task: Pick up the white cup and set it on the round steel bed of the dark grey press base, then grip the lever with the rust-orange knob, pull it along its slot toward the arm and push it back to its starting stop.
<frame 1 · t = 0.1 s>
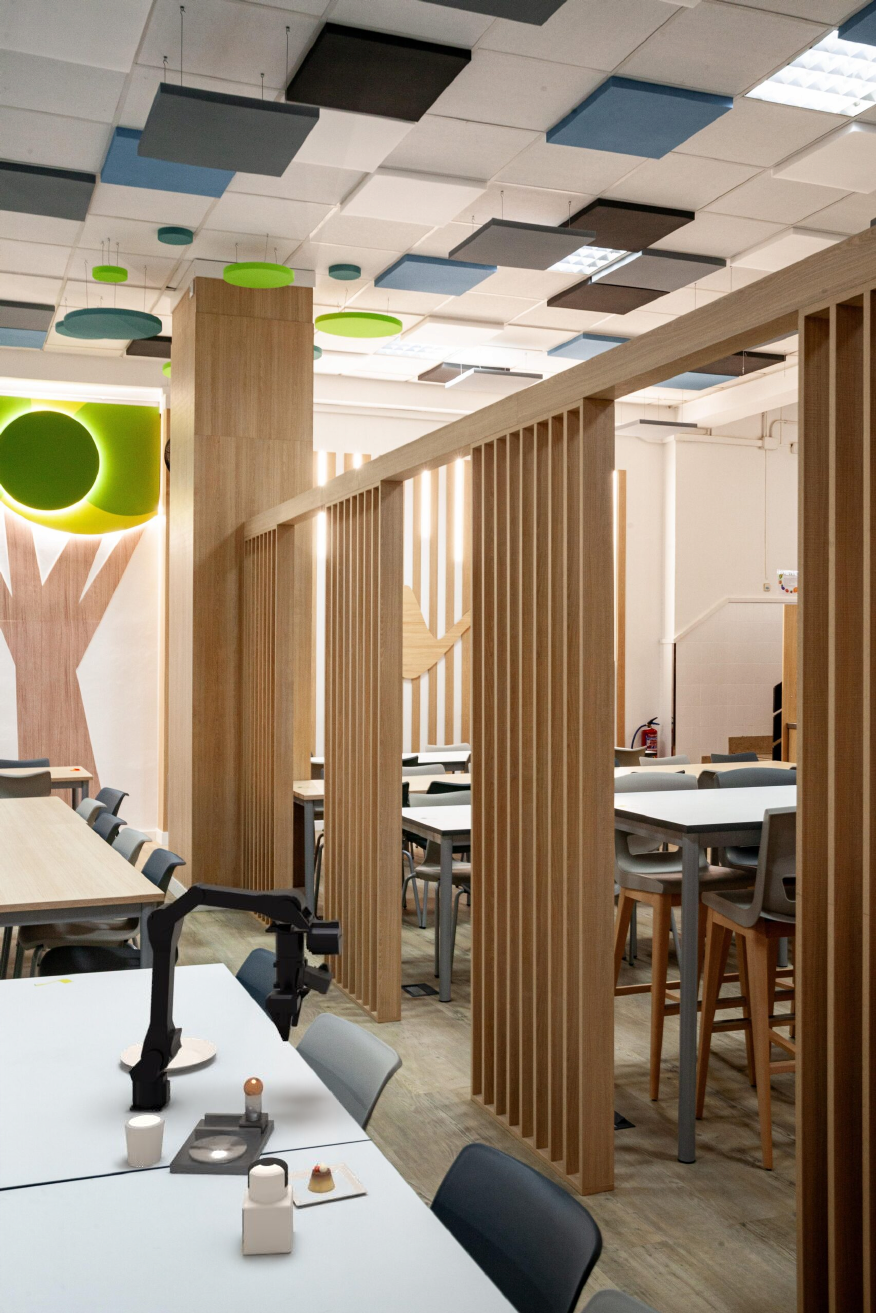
hand: (290, 1033, 224), 15 cm above the table, tool pointing down, fingers open, 9 cm apart
white cup: (144, 1161, 200), on the table
press lever: (253, 1102, 210), point 6 cm above the table, slide at 0.0 cm
medicine bottle: (268, 1243, 171), on the table
press base: (224, 1149, 205), on the table
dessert: (321, 1191, 189), on the table
plate: (169, 1063, 252), on the table
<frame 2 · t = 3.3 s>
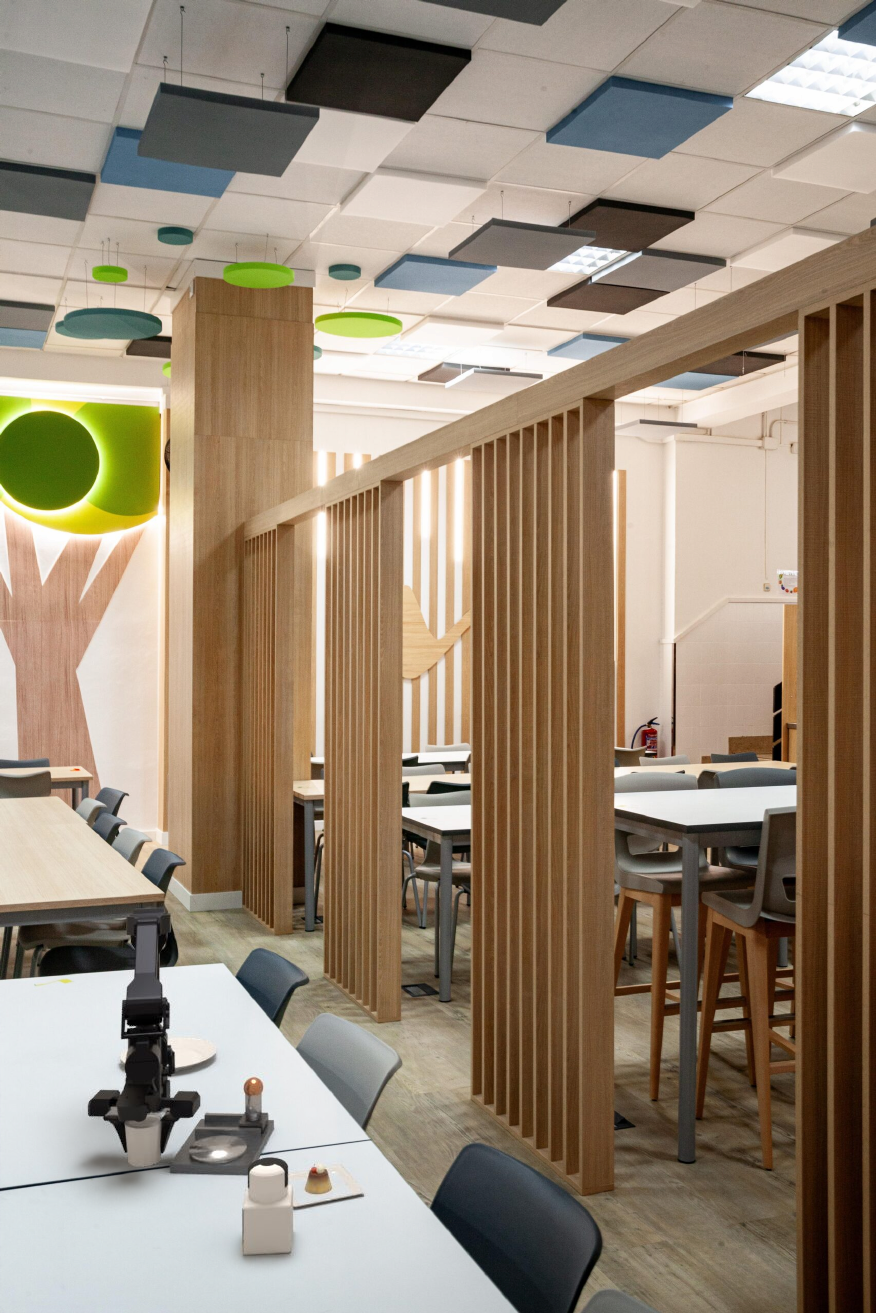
hand: (144, 1152, 200), 1 cm above the table, tool pointing down, fingers closed on white cup, 6 cm apart
white cup: (144, 1160, 200), on the table, touching gripper
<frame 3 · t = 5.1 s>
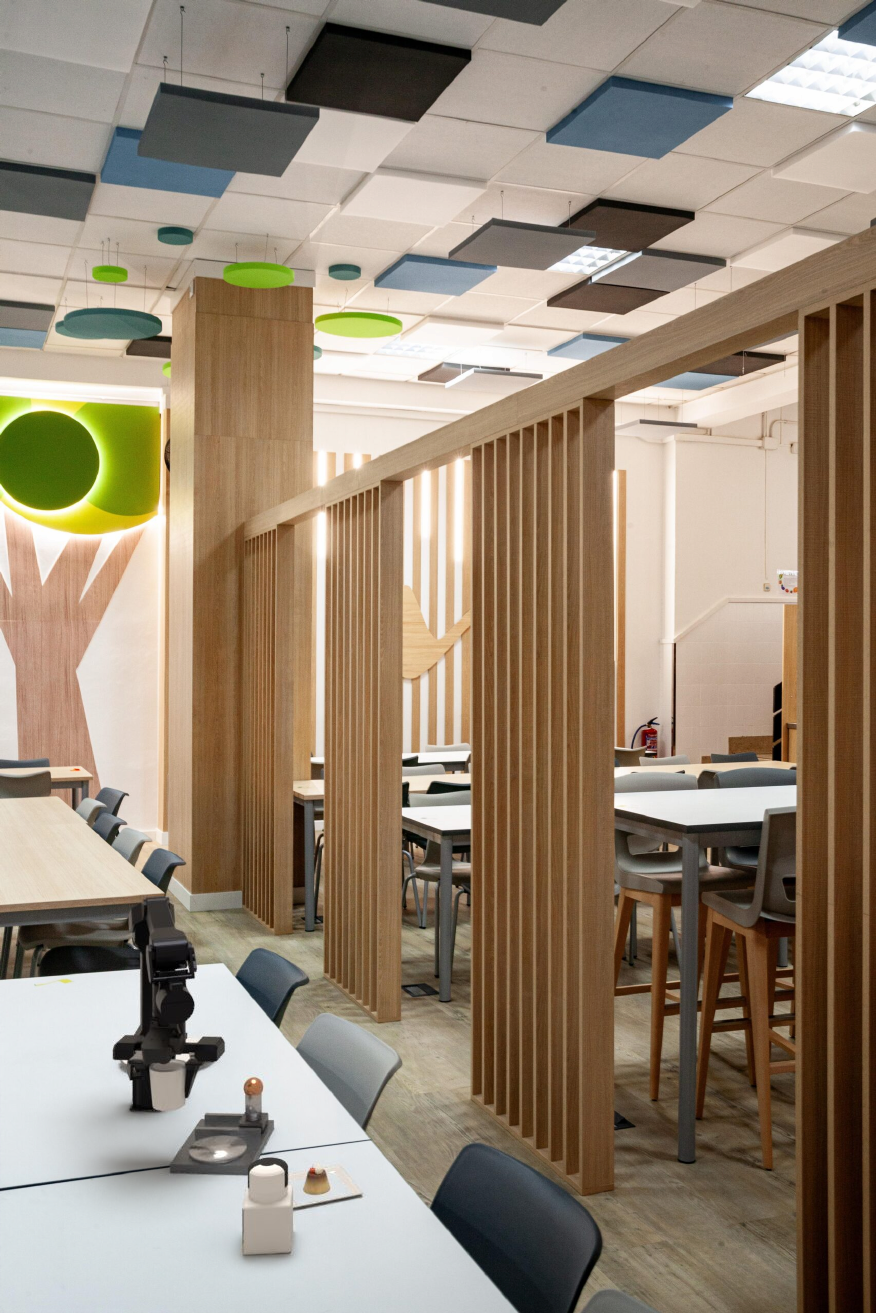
hand: (169, 1096, 200), 11 cm above the table, tool pointing down, fingers closed on white cup, 6 cm apart
white cup: (169, 1105, 200), point 10 cm above the table, touching gripper
when the fingers open (5 cm above the table, at t = 7.2 s): white cup drops 1 cm, resting on press base.
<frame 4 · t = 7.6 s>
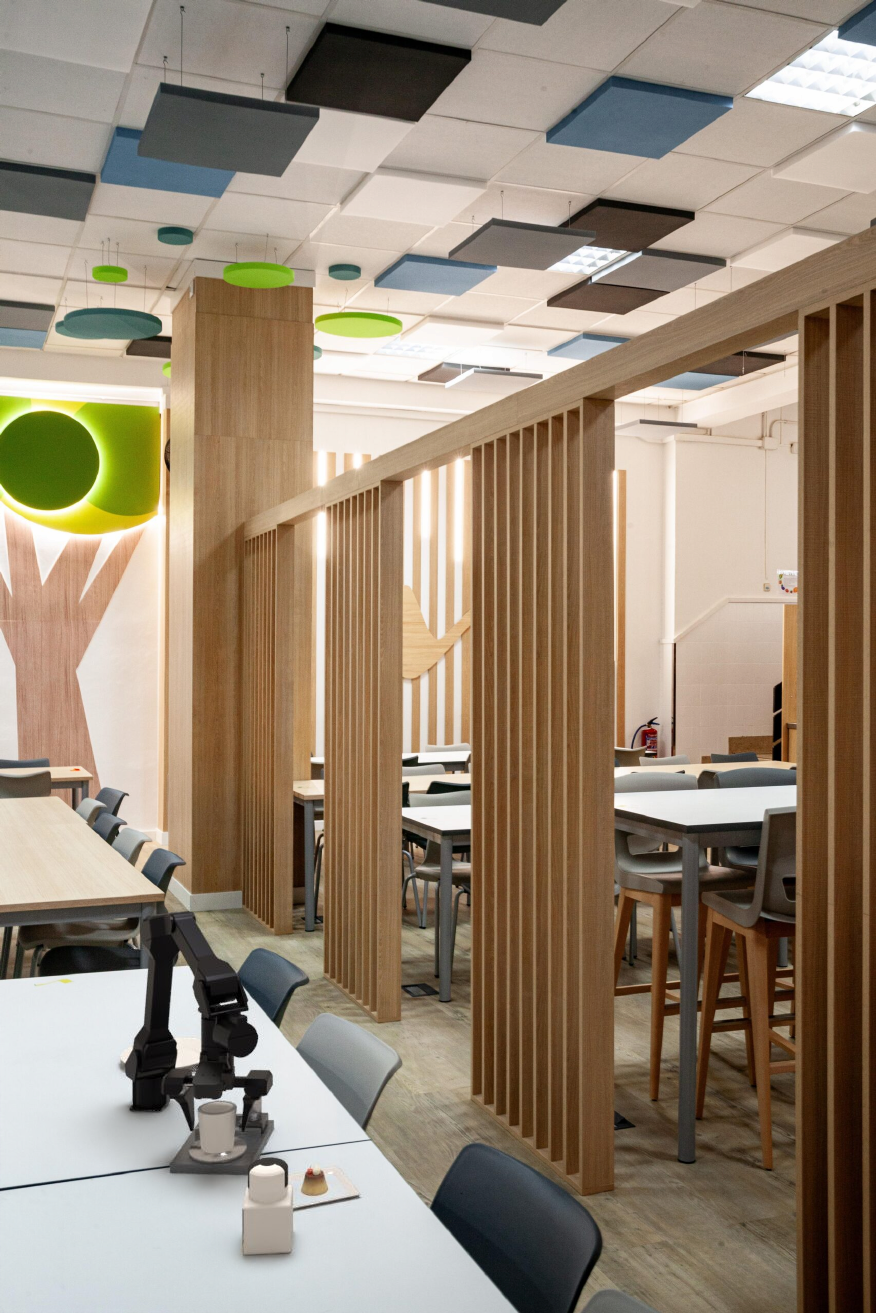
hand: (217, 1130, 200), 5 cm above the table, tool pointing down, fingers open, 9 cm apart
white cup: (217, 1147, 200), point 2 cm above the table, touching press base
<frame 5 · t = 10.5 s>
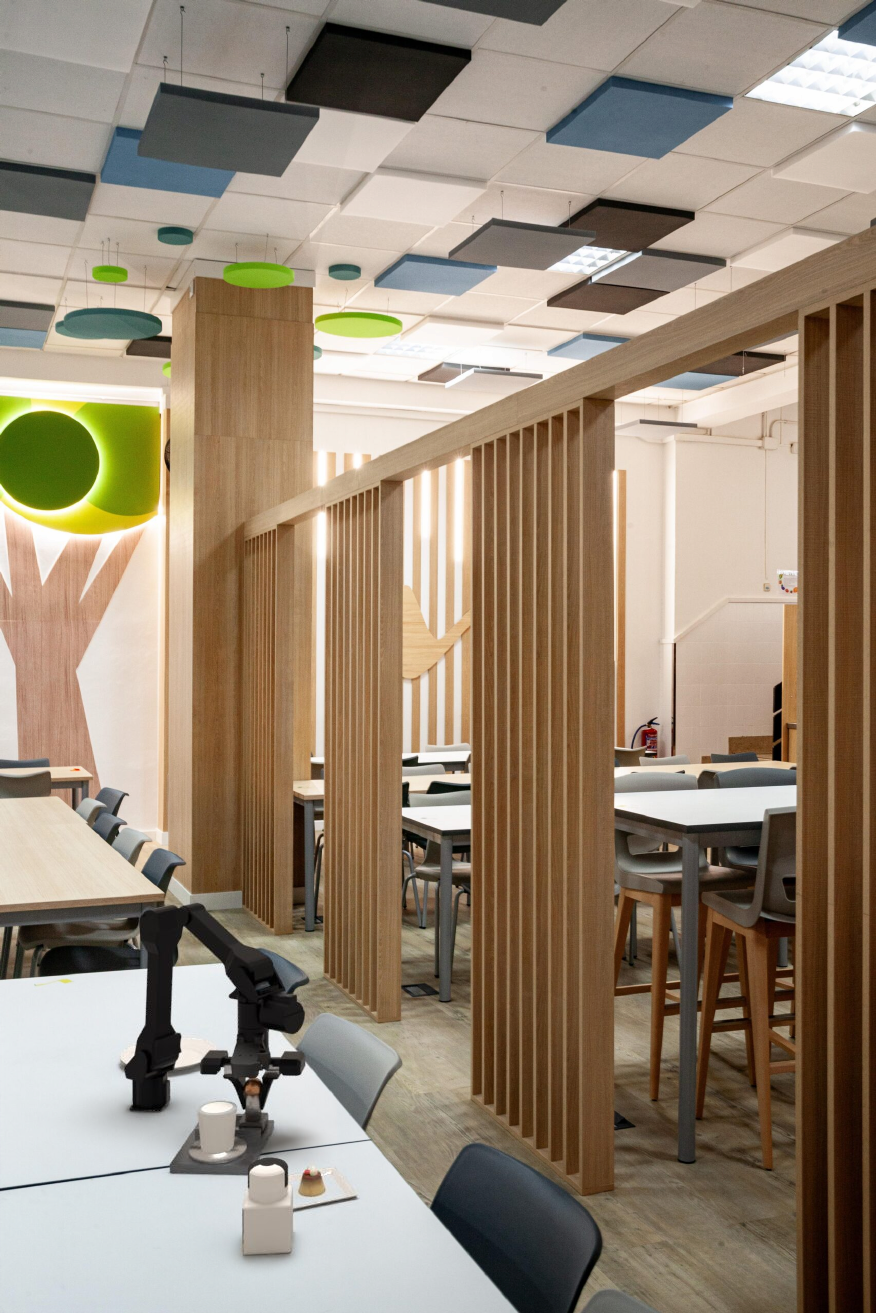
hand: (253, 1109, 210), 5 cm above the table, tool pointing down, fingers closed on press lever, 3 cm apart
press lever: (253, 1102, 210), point 6 cm above the table, slide at 0.0 cm, touching gripper
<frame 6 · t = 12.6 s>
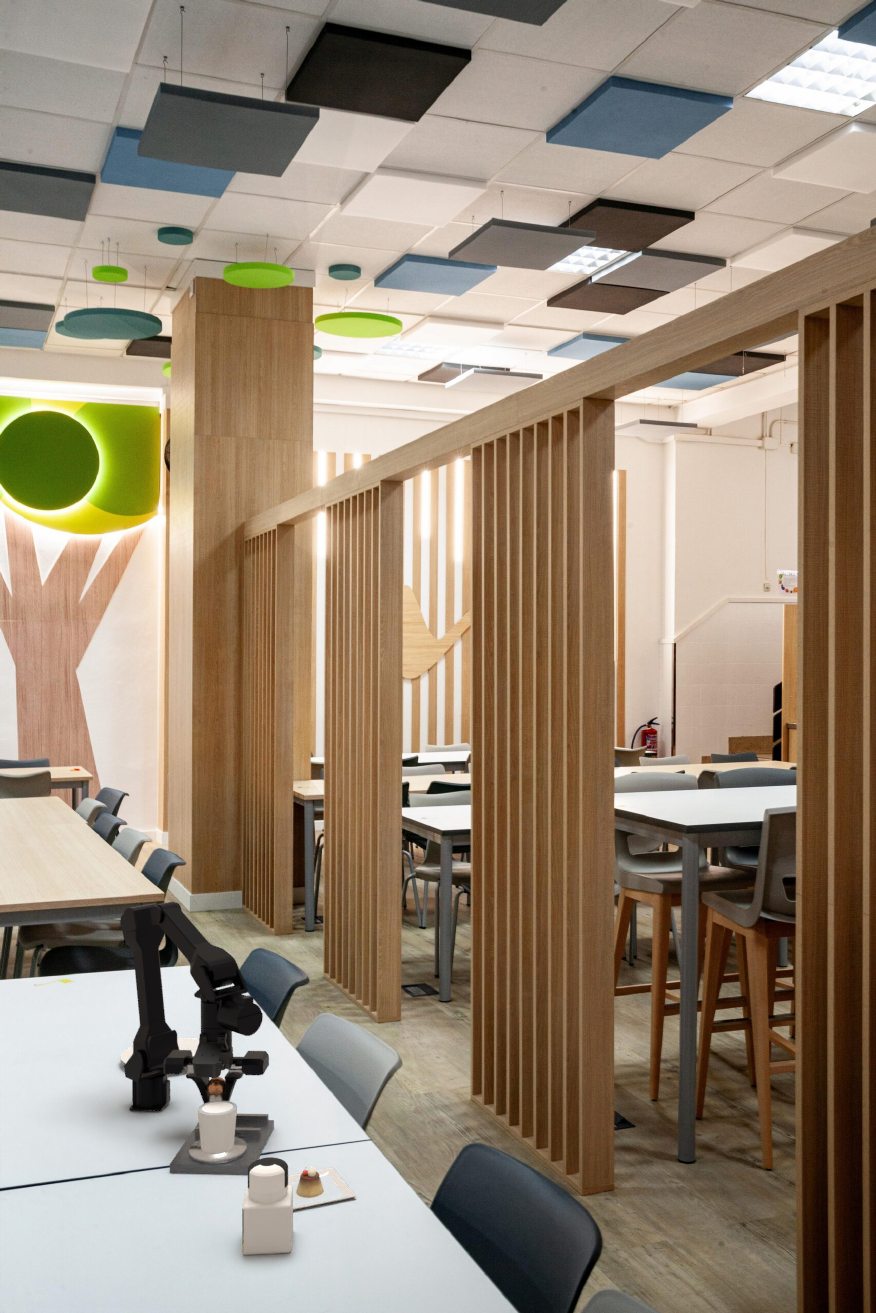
hand: (216, 1108, 211), 5 cm above the table, tool pointing down, fingers closed on press lever, 3 cm apart
press lever: (216, 1101, 211), point 6 cm above the table, slide at 6.9 cm, touching gripper
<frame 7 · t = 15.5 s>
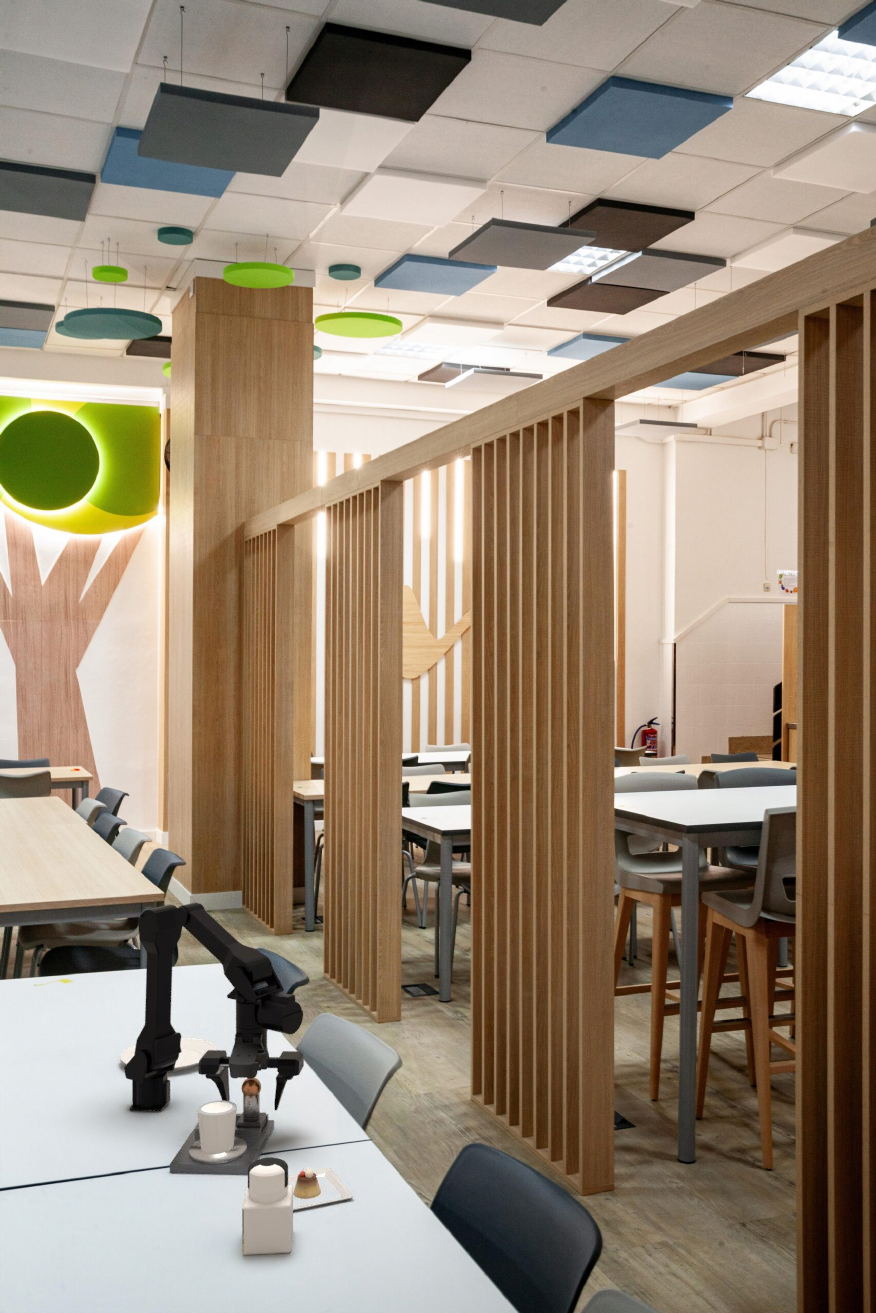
hand: (251, 1109, 210), 5 cm above the table, tool pointing down, fingers open, 9 cm apart
press lever: (251, 1102, 210), point 6 cm above the table, slide at 0.4 cm
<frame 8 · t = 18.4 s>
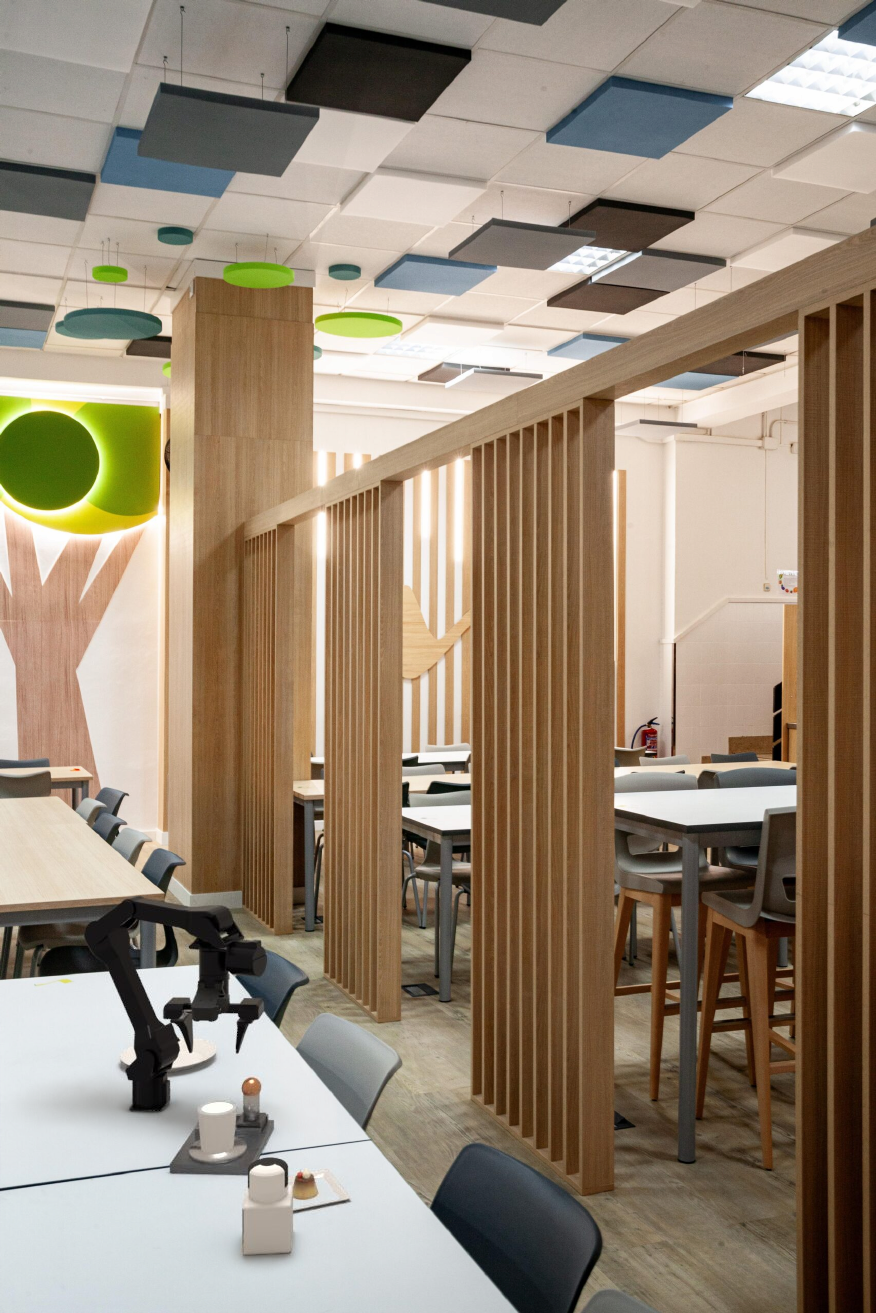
hand: (214, 1052, 221), 12 cm above the table, tool pointing down, fingers open, 9 cm apart
at the end: white cup 0.1 cm from the target spot on the press base, point 2.1 cm above the press base's base; white cup tilted 0°; press lever slide at 0.4 cm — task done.
